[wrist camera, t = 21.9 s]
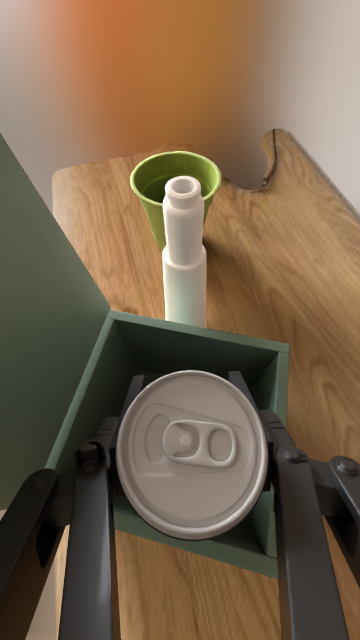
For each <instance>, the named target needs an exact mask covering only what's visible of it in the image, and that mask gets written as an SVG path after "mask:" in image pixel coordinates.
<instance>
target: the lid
mask: <svg viewBox="0 0 360 640" xmlns="http://www.w3.org/2000/svg"><path fill="white" fill-rule="evenodd" d="M110 308H111V306H110V305H109V303H108V302H107V300H106V298H105V297H104V295H103V294H102V292H101V291H100V289H99V287H98V286H97V284H96V283H95V281H94V280H93V278H92V276H91V275H90V273H89V272H88V270H87V269H86V267H85V265H84V264H83V262H82V261H81V259H80V258H79V256H78V254H77V253H76V251H75V250H74V248H73V247H72V245H71V243H70V242H69V240H68V239H67V237H66V236H65V234H64V232H63V231H62V229H61V228H60V226H59V224H58V223H57V221H56V220H55V218H54V217H53V215H52V214H51V212H50V210H49V209H48V207H47V206H46V204H45V203H44V201H43V199H42V198H41V196H40V195H39V193H38V192H37V190H36V188H35V187H34V185H33V184H32V182H31V180H30V179H29V177H28V176H27V174H26V173H25V171H24V169H23V168H22V166H21V165H20V163H19V162H18V160H17V159H16V157H15V155H14V154H13V152H12V151H11V149H10V147H9V146H8V144H7V143H6V141H5V140H4V138H3V136H2V135H1V133H0V510H5V509H8V507H9V506H10V504H11V502H12V501H13V499H14V497H15V496H16V494H17V492H18V491H19V489H20V487H21V486H22V484H23V482H24V481H25V480H26V479H27V477H28V476H30V475H31V474H32V473H34V472H36V471H38V470H40V469H44V468H45V466H46V463H47V461H48V458H49V456H50V453H51V451H52V449H53V446H54V444H55V441H56V439H57V436H58V434H59V432H60V429H61V427H62V424H63V422H64V420H65V417H66V415H67V412H68V410H69V407H70V405H71V403H72V400H73V398H74V395H75V393H76V391H77V388H78V386H79V383H80V381H81V378H82V376H83V374H84V371H85V369H86V366H87V364H88V362H89V359H90V357H91V354H92V352H93V349H94V347H95V345H96V342H97V340H98V337H99V335H100V332H101V330H102V328H103V325H104V323H105V320H106V318H107V316H108V313H109V311H110Z"/></svg>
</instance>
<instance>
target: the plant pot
mask: <svg viewBox="0 0 360 640" xmlns="http://www.w3.org/2000/svg"><path fill="white" fill-rule="evenodd" d="M178 176H189V177H192V178H195V179H196V180H198V181H199V183H200V185H201V196H202V197H203V200H204V219H203V227H204V223H205V220H206V216H207V212H208V209H209V206H210V204H211V202H212V200H213V196H214V194H215V193H216V192H217V191H218V189H219V187H220V184H221V173H220V171H219V169H218V167H217V166H216V165H215V164H214V163H213V162H211V161H210V160H208V159H207V158H205V157H203V156H201V155H197V154H195V153H190V152H182V151H175V152H165V153H161V154H157V155H154V156H151V157H149V158H147V159H145V160H144V161H142V162H141V163H139V164H138V165H137V166H136V168H135V169H134V170H133V172H132V174H131V178H130V183H131V187H132V189H133V191H134V193H135V194H136V195H137V196H138V197H139V199H140V201H141V204H142V206H143V207H144V209H145V212H146V214H147V217H148V220H149V223H150V226H151V229H152V232H153V235H154V238H155V240H156V243H157V245H158V247H159V248H160V250H161V251H163V250H164V248H165V246H166V245H167V244H166V234H165V224H164V214H163V200H164V198H165V196H166V191H165V186H166V184H167V182H168V181H169V180H171V179H173V178H175V177H178Z"/></svg>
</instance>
